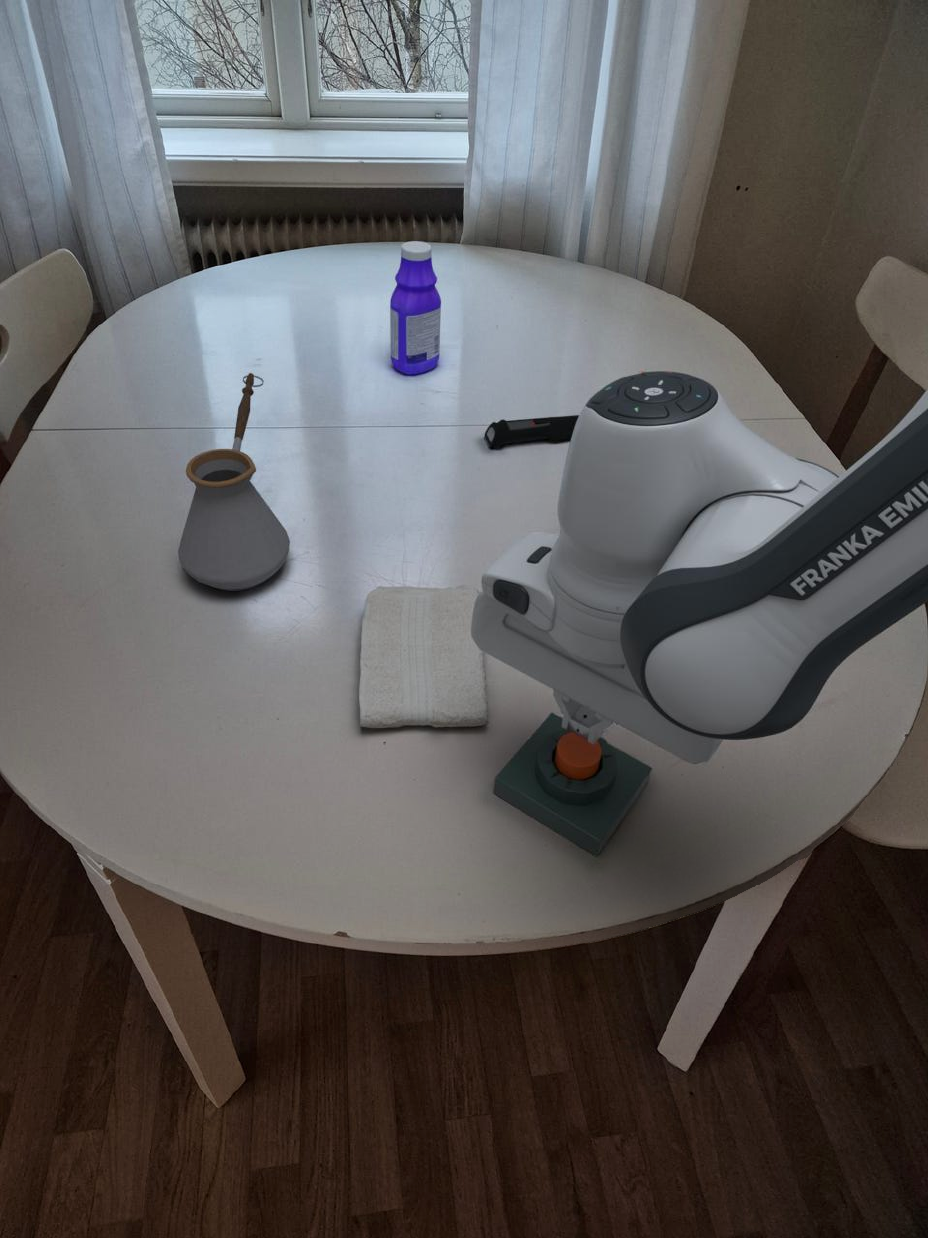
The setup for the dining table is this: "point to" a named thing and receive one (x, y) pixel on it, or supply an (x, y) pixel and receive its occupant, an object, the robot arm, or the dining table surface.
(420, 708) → the washcloth
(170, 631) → the dining table surface
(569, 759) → the button
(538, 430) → the electric trimmer
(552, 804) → the button box
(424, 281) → the bottle
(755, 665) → the robot arm
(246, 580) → the coffee pot
